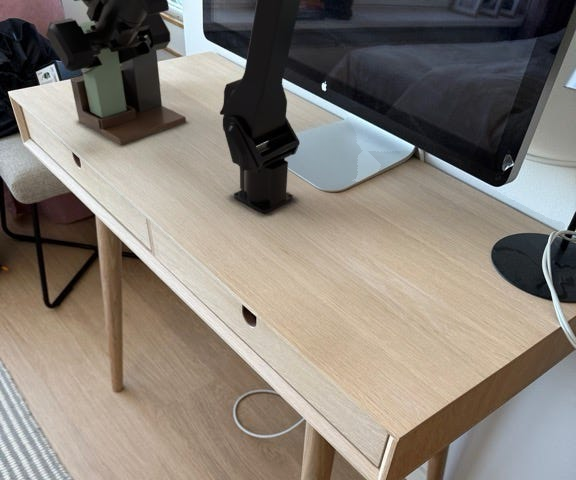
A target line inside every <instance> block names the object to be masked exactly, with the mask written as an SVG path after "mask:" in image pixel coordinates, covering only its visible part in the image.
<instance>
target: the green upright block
mask: <svg viewBox="0 0 576 480" xmlns="http://www.w3.org/2000/svg"><path fill="white" fill-rule="evenodd" d="M77 24H78V25H79V26H81V28H82V30H83V31H84V33H89V32H91V30H90V26H92V25H95V22H94V21H90V20H89V21H86V22H85V21H84V22H79V23H77ZM98 58H99V59H100V61H101V63H102V65H101V66H99V67H98V68H96V69H94V70H92V71H90V72H88V73H86V74H83V73H82V76H84V81H85V86H86V91H87V97H88V102H89V107H90V112H92V113H94V114H96V115H97V116H99V117H101V118H104V117H108V116H111V115H114V114H117V113H121V112H124V111H127V109H126V102H125V95H124V89H123V82H122V75H121V69H120V62H119V55H118V51H115V52H111V51H110V49H105V50H101V53H100V55H99V56H98Z"/></svg>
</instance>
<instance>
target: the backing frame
mask: <svg viewBox="0 0 576 480" xmlns="http://www.w3.org/2000/svg"><path fill="white" fill-rule="evenodd" d="M146 39H147V41H146V44H147V46H148V47H149V49H150V52H149V53H148V54H146V55H143V56H140V57H137V58H135V59H132V60H129V61H126V62H124V63H122V66H120V69H121V75H122V82H123V89H124V95H125V102H126V109H127V111H124V112H121V113H117V114H114V115H111V116H108V117H104V118H101V117H99V116H97V115H96V114H94V113H92V112H90V107H89V102H88V97H87V91H86V86H85V81H84V76H83V75H80V76H76V77H72V78H70V79H69V80H70V85H71V89H72V95H73V99H74V104H75V108H76V114H77V118H78V122H79V123H80V124H82V125H84V126H86V127H88V128H90V130H93V131H95V132H97V133H99V134H100V135H102V136H104V137H106V138H108V139H109V140H111V141H113V142H115V143H117V144H118V145H120V146H123V145H125V144H127V143H131V142H134V141H137V140H139V139H143V138H145V137H148V136H151V135H154V134H157V133H159V132H163V131H165V130H168V129H171V128H174V127H177V126H180V125H183V124H186V123H187V117H186V116H184V115H182V114H181V113H178V112H176V111H175V110H172V109H170V108H168V107H165V106H163V101H162V91H161V83H160V73H159V72H160V71H159V63H158V52H157V50H156V51H153V50H152V49H151V48H150V46H149V45H150V44H151V40H150V39H149V37H148V36H147V37H146Z"/></svg>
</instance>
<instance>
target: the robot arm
mask: <svg viewBox="0 0 576 480" xmlns="http://www.w3.org/2000/svg"><path fill="white" fill-rule="evenodd" d="M73 1H74V2H78V1H80V0H73ZM81 1H82V3H83V4H84V5H85V6H86V8H87V9H86V16H87V17H88V19H89V22H90V21H94V22H95V25H92V26H90V30H91V32H89V33H84V31H83V30H82V28H81V26H79V25H78V24H79V23H78V22H77V20H76V19H73V18H71V17H70V18H65V19H64V18H63V19H59V20H54V21H50V22H49V24H48V27H47V30H46V33H45V36H46V37H47V40H48V41H49V43H50V44H51V46H52V48H53V49H54V51H55V52H56V54H57V56H58V58H59V60H60V62H61V63H62V65H63V66H64V68H65V70H67V71H70V72H75V71H79V70H80V71H81V73H82V75H83V74H86V73H88V72H90V71H92V70H94V69H96V68H98V67H99V66H101V65H102V63H101V61H100V59H99V58H98V56H99V55H100V53H101V50H105V49H110V51H111V52H115V51H118V55H119V62H120V64H121V63H124V62H126V61H129V60H132V59H135V58H137V57H140V56H143V55H146V54H148V53H149V52H150V49H149V47H148V46H147V44H146V41H147V39H146V37H147V36H148V37H149V39H150V40H151V44H150V45H149V46H150V48H151V49H152V50H153V51H156V52H157V51H160V50H164V49H167V47H168V46H169V44H170V42H171V39H172V37H171V31H170V30H169V28H168V26H167V24H166V22H165V21H164V18H163V16H162V14H161V13H164V12H165V13H166V12H168V11H169V10H170V7H169V6H170V5H169V1H168V0H81ZM301 1H302V0H256V4H255V10H254V15H253V21H252V28H251V33H250V38H249V39H250V40H249V45H248V51H247V56H246V61H245V68H244V72H243V75H242V77H241V78H240V79H236V80H234V81H231V82H229V83H226V85H225V87H224V90H223V103H222V106H221V109H220V111H219V115H221V116H222V131H223V132H224V136H225V139H226V142H227V147H228V150H229V154H230V159H231V161H232V163H233V164H234V165H235V164H236V165H237V166H238V167H239V189H240V190H239V191H237V192H234V193H233V198H234V199H235V200H236V201H239V202H240V203H243V204H245V205H246V206H248V207H250V208H252V209H254V210H256V211H257V212H259V213H261V214H267V213H269V212H271V211H273V210H275V209H277V208H279V207H281V206H284V205H285V204H287V203H289V202H291V201H293V200H294V195H293V194H292V193H289V192H287V189H288V188H287V187H288V169H289V161H287V160H286V158H288V157H290V156H293V155H295V154H296V153H297V152H298V149H299V146H300V143H301V142H300V139H299V138H298V136H297V134H296V132H295V131H294V129H293V127H292V125H291V123H290V121H289V120H288V118H287V110H288V109H287V108H288V99H287V96H286V92H285V88H284V85H283V81H284V80H283V79H284V75H285V70H286V66H287V62H288V57H289V53H290V48H291V44H292V40H293V36H294V32H295V28H296V22H297V18H298V14H299V10H300V5H301Z"/></svg>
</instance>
